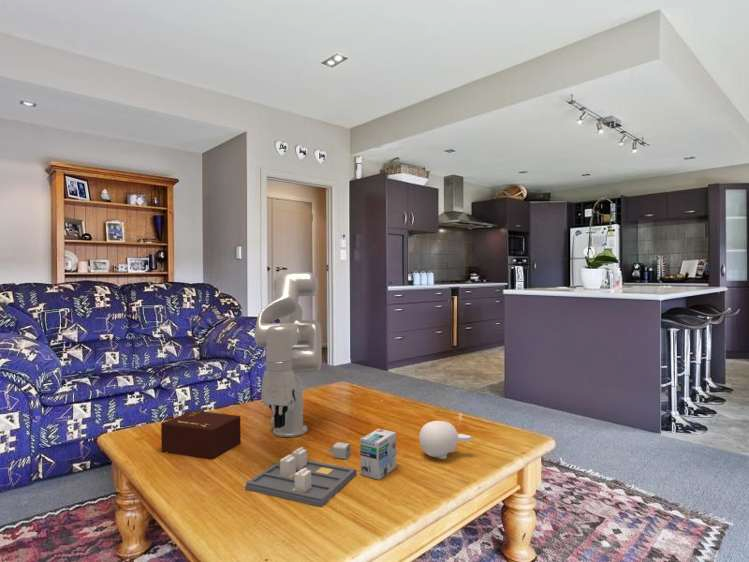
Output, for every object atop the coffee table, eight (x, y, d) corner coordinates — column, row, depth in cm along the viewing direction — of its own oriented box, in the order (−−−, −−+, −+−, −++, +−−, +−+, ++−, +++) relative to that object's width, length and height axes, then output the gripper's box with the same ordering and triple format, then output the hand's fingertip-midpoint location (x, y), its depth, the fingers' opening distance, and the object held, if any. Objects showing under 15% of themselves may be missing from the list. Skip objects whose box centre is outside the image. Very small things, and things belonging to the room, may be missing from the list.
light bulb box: (379, 480, 127) (378, 442, 127) (359, 475, 131) (359, 438, 131) (397, 467, 136) (397, 431, 136) (378, 462, 140) (378, 427, 140)
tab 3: (294, 490, 119) (294, 471, 119) (301, 485, 122) (301, 466, 122) (304, 492, 118) (304, 473, 118) (311, 487, 121) (311, 468, 121)
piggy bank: (429, 469, 138) (465, 462, 146) (438, 436, 135) (475, 431, 143) (407, 445, 148) (442, 440, 156) (415, 414, 145) (451, 410, 153)
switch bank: (245, 489, 123) (245, 482, 123) (287, 461, 141) (287, 455, 141) (321, 507, 113) (321, 500, 113) (356, 474, 131) (356, 468, 131)
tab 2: (292, 467, 133) (292, 450, 133) (298, 462, 137) (298, 446, 136) (300, 468, 132) (300, 451, 132) (306, 464, 135) (306, 447, 135)
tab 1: (280, 475, 128) (279, 457, 128) (287, 470, 131) (286, 453, 131) (288, 477, 127) (288, 459, 127) (295, 472, 130) (295, 455, 130)
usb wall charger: (345, 460, 142) (345, 447, 142) (325, 457, 144) (325, 444, 144) (350, 455, 146) (350, 443, 146) (331, 452, 148) (331, 440, 148)
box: (243, 442, 158) (243, 414, 158) (212, 460, 143) (212, 429, 143) (195, 435, 165) (195, 408, 165) (160, 452, 150) (160, 422, 149)
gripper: (251, 366, 136) (251, 427, 136) (292, 370, 130) (293, 433, 130) (267, 362, 143) (267, 420, 143) (306, 365, 137) (307, 426, 137)
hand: (279, 426), depth 137 cm, fingers closed
